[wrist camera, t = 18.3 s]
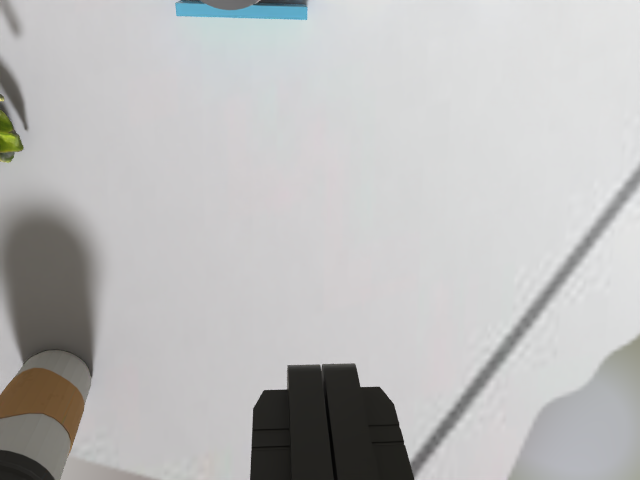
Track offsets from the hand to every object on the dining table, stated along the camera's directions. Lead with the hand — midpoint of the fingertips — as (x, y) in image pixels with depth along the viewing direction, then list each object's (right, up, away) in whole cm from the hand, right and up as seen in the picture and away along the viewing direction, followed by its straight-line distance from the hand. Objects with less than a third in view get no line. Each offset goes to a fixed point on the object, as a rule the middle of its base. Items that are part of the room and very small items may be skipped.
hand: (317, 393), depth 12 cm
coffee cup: (-25, -9, +40) cm, 49 cm away
